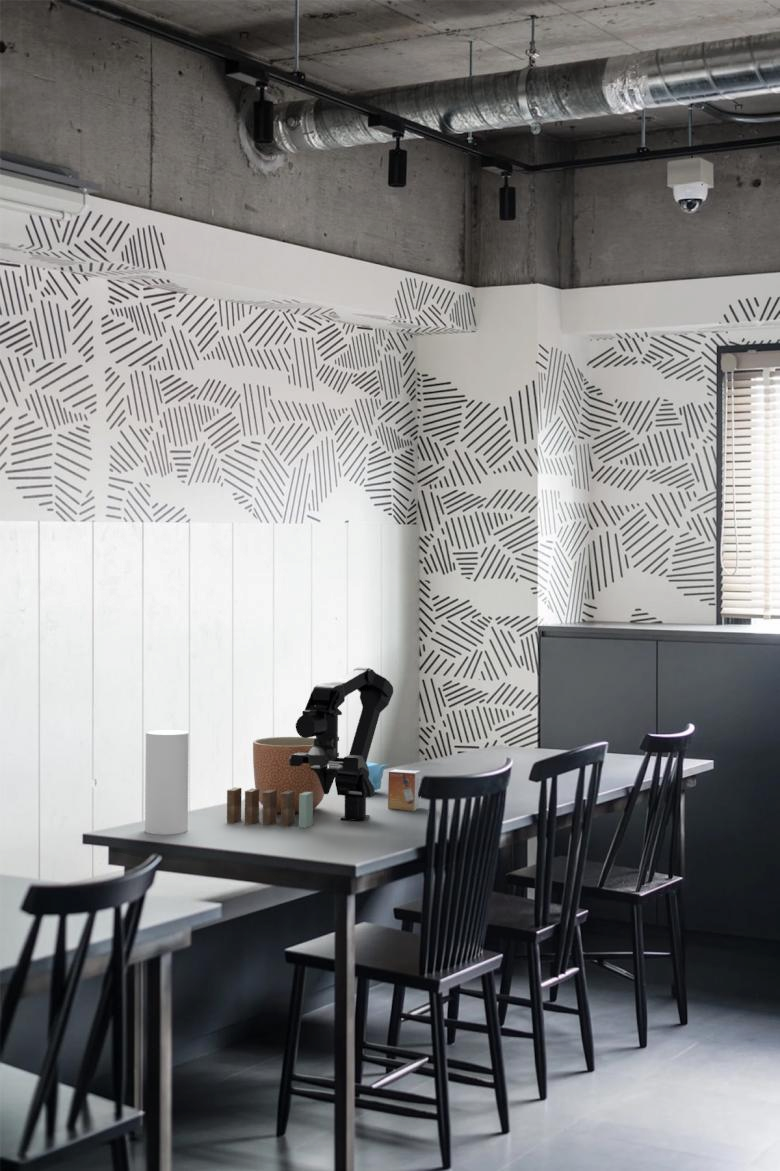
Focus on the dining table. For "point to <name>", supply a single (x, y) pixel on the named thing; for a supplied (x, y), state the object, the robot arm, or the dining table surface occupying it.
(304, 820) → the domino
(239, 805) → the domino
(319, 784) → the planter
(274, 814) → the domino
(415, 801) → the small box
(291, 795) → the domino
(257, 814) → the domino
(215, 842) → the dining table surface
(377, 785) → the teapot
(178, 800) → the tall pillar cylinder
